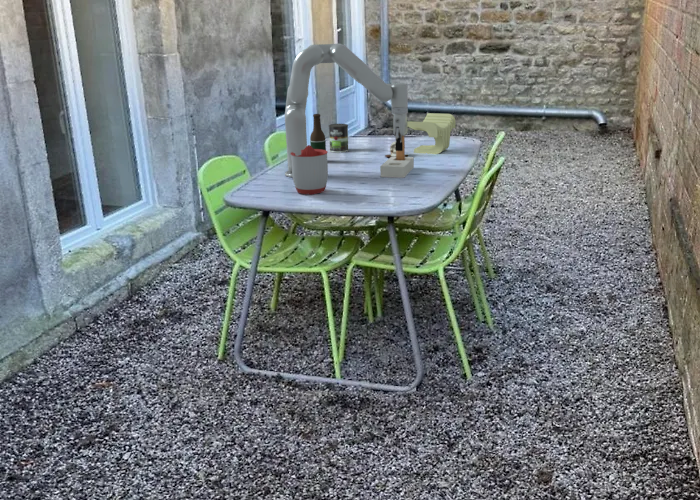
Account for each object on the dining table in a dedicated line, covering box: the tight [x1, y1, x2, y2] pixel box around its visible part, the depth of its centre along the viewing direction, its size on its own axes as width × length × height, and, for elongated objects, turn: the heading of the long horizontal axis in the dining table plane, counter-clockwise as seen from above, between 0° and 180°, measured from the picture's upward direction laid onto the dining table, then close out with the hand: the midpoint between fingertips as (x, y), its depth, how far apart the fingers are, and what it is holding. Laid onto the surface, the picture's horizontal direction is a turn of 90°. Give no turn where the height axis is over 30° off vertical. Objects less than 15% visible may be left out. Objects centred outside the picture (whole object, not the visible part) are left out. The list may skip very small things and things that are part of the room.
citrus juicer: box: [291, 144, 329, 196], centre depth 305 cm, size 16×17×20 cm
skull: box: [384, 140, 409, 158], centre depth 373 cm, size 12×10×10 cm
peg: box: [396, 134, 406, 160], centre depth 339 cm, size 4×4×14 cm
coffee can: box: [328, 123, 349, 154], centre depth 390 cm, size 10×10×14 cm
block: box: [379, 156, 415, 179], centre depth 337 cm, size 22×11×5 cm, turn 164°
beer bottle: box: [309, 113, 327, 151], centre depth 363 cm, size 8×8×24 cm
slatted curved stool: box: [407, 112, 456, 155], centre depth 380 cm, size 30×16×18 cm, turn 154°
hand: (400, 149), depth 340 cm, fingers closed on peg, 4 cm apart
